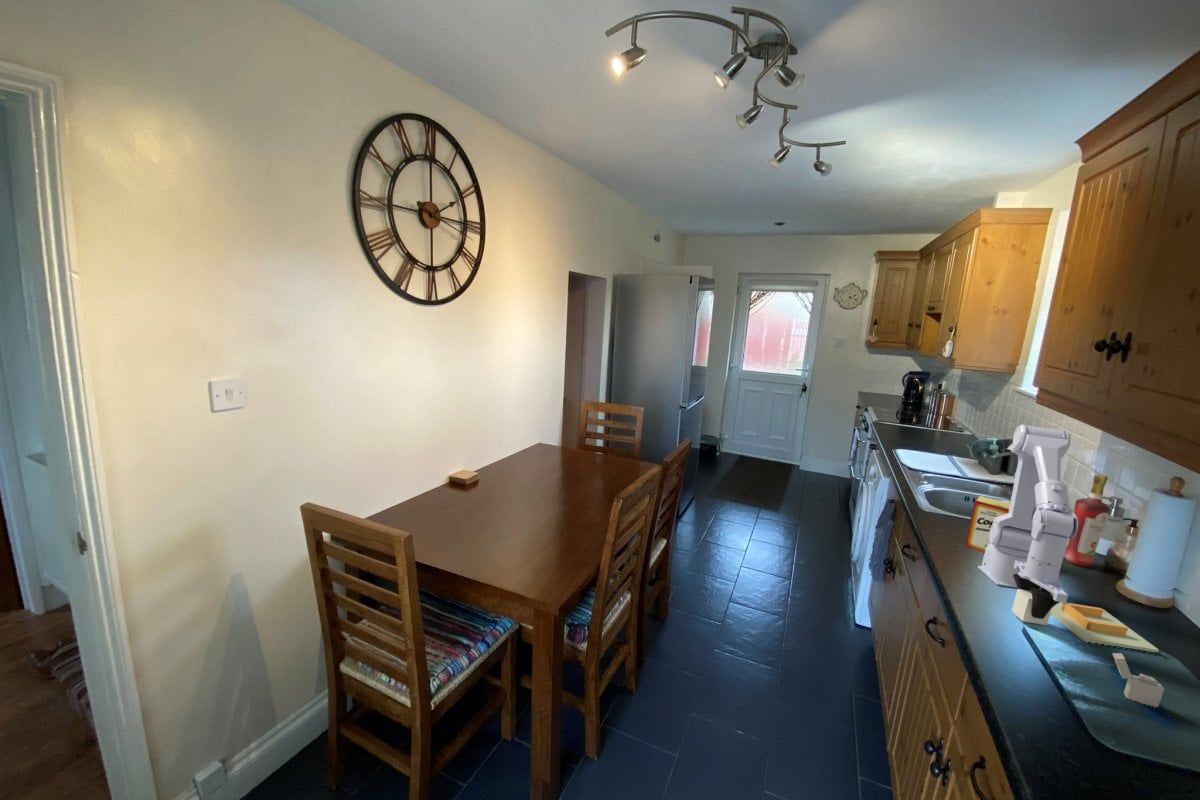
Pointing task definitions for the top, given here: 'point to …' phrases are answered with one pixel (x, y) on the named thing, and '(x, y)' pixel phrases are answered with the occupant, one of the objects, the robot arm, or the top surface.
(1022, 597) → the chute block
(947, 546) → the top surface
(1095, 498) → the liquor
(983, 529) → the baking soda box
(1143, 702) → the lighter
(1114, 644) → the deck
